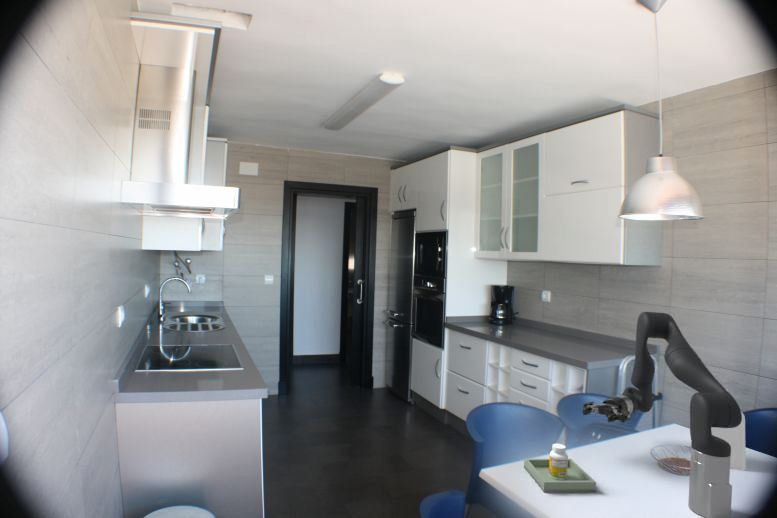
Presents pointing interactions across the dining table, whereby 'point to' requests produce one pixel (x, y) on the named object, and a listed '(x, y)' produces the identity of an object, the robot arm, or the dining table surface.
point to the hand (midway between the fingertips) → (596, 415)
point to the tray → (573, 482)
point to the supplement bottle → (558, 462)
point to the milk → (734, 443)
